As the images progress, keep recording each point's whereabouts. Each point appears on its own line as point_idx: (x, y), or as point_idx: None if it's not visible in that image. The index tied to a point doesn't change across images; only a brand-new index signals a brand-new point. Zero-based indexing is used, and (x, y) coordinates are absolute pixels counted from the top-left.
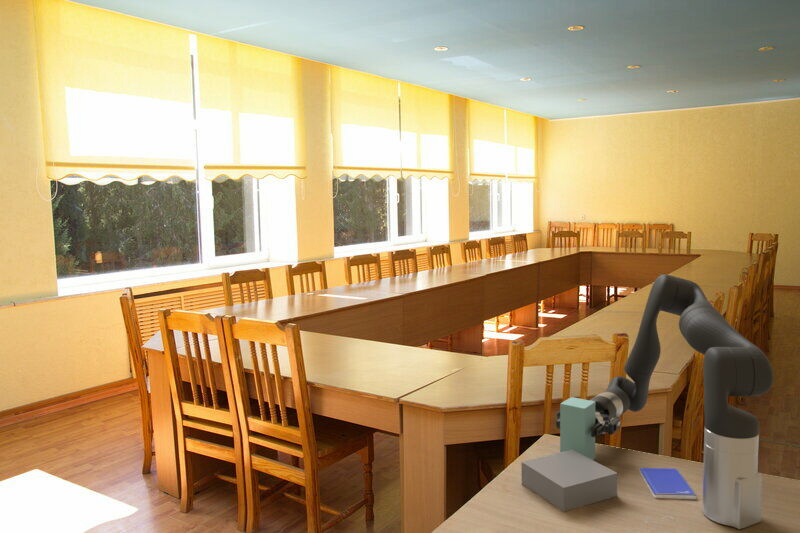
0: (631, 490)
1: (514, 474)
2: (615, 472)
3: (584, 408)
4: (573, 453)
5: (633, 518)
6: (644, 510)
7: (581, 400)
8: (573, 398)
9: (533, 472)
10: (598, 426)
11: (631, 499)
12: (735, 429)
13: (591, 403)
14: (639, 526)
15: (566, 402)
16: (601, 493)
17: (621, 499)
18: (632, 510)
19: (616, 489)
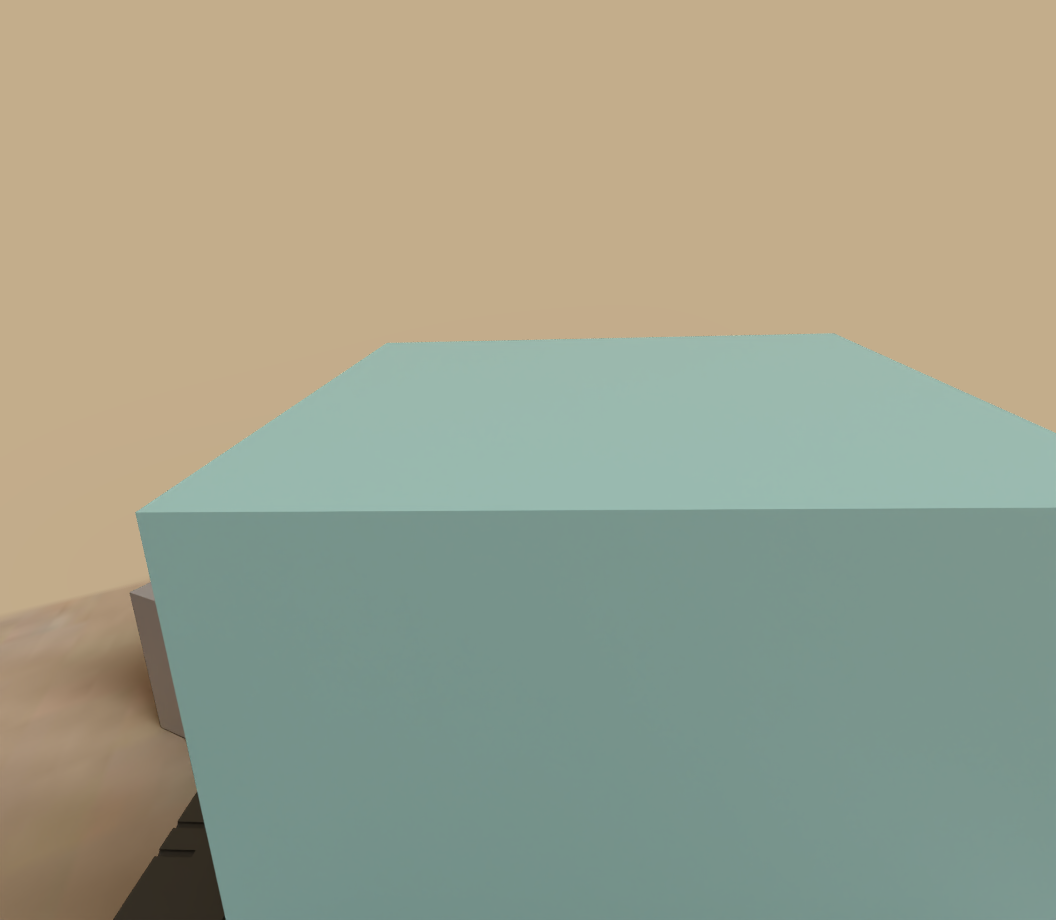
0: (26, 832)
1: None
2: (141, 591)
3: (391, 345)
4: None
5: (116, 617)
6: (29, 678)
7: (629, 449)
8: (969, 459)
9: None
10: (193, 880)
11: (71, 734)
12: None
13: (283, 428)
14: (105, 591)
15: (808, 356)
16: None
17: (139, 711)
18: (101, 657)
19: (157, 687)
